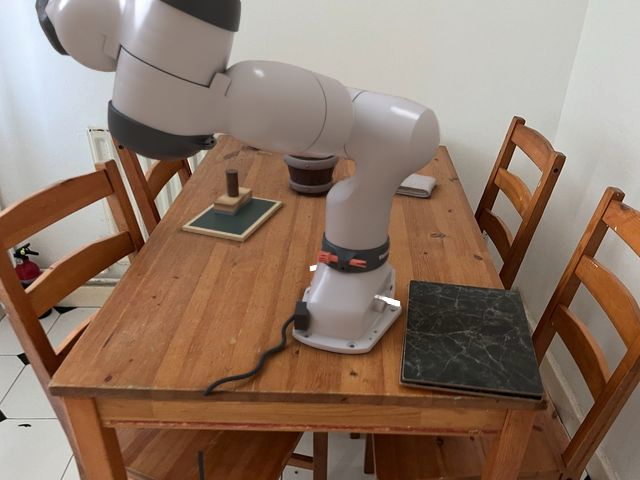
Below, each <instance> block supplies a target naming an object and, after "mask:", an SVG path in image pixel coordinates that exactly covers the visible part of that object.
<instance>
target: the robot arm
mask: <svg viewBox="0 0 640 480" xmlns="http://www.w3.org/2000/svg"><path fill="white" fill-rule="evenodd" d="M34 8H35V11H36V16H37V19H38V24H39V26H40V28H41V30H42V32H43V34H44V35H45V37H46V39H47V41H48V42H49V44H50V46H51V47H52V48H53V49H54V50H55V52H57V53H58V54H59V55H61V56H66V57H70V58H72V59H73V60H74V61H75V62H77V63H78V64H80V65H81V66H83V67H85V68H87V69H90V70H91V71H92V70H93V71H96V72H101V73H115V75H114V82H113V89H112V96H111V99H110V100H108V102H107V128H108V132H109V134H110V135H111V136H112V137H113V138H114V140H115V141H116V142H117V143H118V144H119V145H120V146H122V147H123V148H125V149H127V150H129V151H130V152H132V153H134V154H136V155H138V156H141V157H143V158H146V159H149V160H152V161H153V160H154V161H161V162H166V163H167V162H168V163H173V162H179V161H183V160H187V159H189V158H192V157H194V156H196V155H197V154H199V153H200V152H201V151H211V150H212V149H214V148H215V146H217V144H218V141H217V138H216V137H215V136H214V135H215V134H224V135H227V136H229V137H230V138H232V139H234V140H235V141H237V142H240V143H242V144H244V145H246V146H249V147H252V148H255V149H258V150H261V151H264V152H267V153H273V154H277V155H294V156H304V157H314V158H326V157H329V156H331V155H332V156H336V157H339V159H340V158H341V159H345V160H349V161H351V162H354V166H355V167H354V174H353V175H352V176H350V177H347V178H344V179H342V180H339V181H337V182H336V183H335V184H333V185H332V186H331V188H330V189H329V190H328V191H327V192H328V193H327V195H326V197H325V218H324V219H325V222H324V224H325V225H324V226H325V227H324V232H323V234H322V239H321V243H320V250H319V251H318V254H317V262H316V265H311V266H309V268H310V269H309V270H310V271H311V272H312V271H314V273H313V276H312V280H311V281H310V282H309V286H308V287H306V288H305V291H304V294H303V296H302V300H300V301H299V300H296V303H295V308H294V313H293V314H292V315H291V316H290V317H289V318H288V319H287V320H286V321H285V322H284V323H283V325H282V327H281V332H280V335H281V342H280V344H279V345H277V346H275V347H273V348H271V349H268V350H266V351H265V352H263V354H261V356H260V358H259V361H258V363H257V365H256V366H255V367H254V369H252V370H251V371H249V372H246V373H242V374H237V375H232V376H226V377H223V378H222V377H221V378H220V379H217V380H215V381H214V382H212V383H211V384H210V385H209V386H207V388H206V389H205V390H204V392H203V394H202V396H203V397H207V396H209V395H210V394H211V392H212V391H213V390H214V389H215V388H217V387H219V386H220V385H223V384H226V383H230V382H234V381H235V382H236V381H241V380H245V379H248V378H251V377H253V376H255V375H256V374H257V373H259V372H260V371H261V369H262V367H263V365H264V363H265V360H266V358H267V357H268V356H270V355H271V354H276V353H277V352H280V351H281V350H282V349H283V348H284V347H286V344H287V328H288V327H289V325H290V324H291V323H293V328H292V333H291V335H292V337H293V338H295V339H296V340H297V341H298V342H300V343H302V344H305V345H307V346H309V347H313V348H316V349H319V350H323V351H328V352H332V353H339V354H346V355H348V354H351V355H355V354H356V355H357V354H358V355H359V354H365V353H369V352H370V351H371V350H372V349H373V348H374V347H375V346H376V345H377V343H378V342H379V340H381V338H382V337H383V336H384V335H385V333H386V332H387V331H388V330H389V329H390V327H391V326H392V325H393V324H394V322H396V320H397V319H398V318H399V316H401V314H402V312H403V307H402V305H401V301H399V300H395V292H396V290H395V288H396V269H395V268H394V267H393V265H392V264H391V263H390V261H389V256H390V251H391V238H390V235H389V228H390V218H391V212H392V207H393V202H394V198H395V195H396V194H397V193H396V191H397V189H398V188H399V186H400V185H401V184H402V182H403V181H404V180H405V179H406V178H407V177H409V176H410V175H412V174H416V173H417V172H419V171H421V170H423V169H424V168H425V167H426V166H428V165H429V164H430V162H431V161H432V160H433V159H434V157H435V156H436V154H437V152H438V149H439V147H440V143H441V127H440V121H439V119H438V116H437V114H436V113H435V111H434V110H433V109H432V108H430V107H427V106H425V105H424V104H421V103H419V102H416V101H414V100H412V99H410V98H407V97H402V96H397V95H392V94H387V93H382V92H377V91H372V90H368V89H363V88H362V89H361V88H356V87H352V86H348V85H344V84H343V83H342V82H341V81H339V80H338V79H336V78H334V77H331V76H327V75H325V74H321V73H318V72H316V71H312V70H311V69H310V70H309V69H307V68H303V67H301V66H297V65H294V64H290V63H286V62H280V61H276V60H275V61H274V60H261V59H249V60H242V61H238V62H236V63H234V64H232V65H230V66H229V63H230V58H231V55H232V49H233V45H234V38H235V34H236V33H238V32H239V31H240V25H241V16H242V14H241V13H242V1H241V0H35V4H34ZM228 66H229V67H228ZM197 459H198V460H197V461H198V476H199V480H206V479H205V468H204V451H201V450H197Z"/></svg>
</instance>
